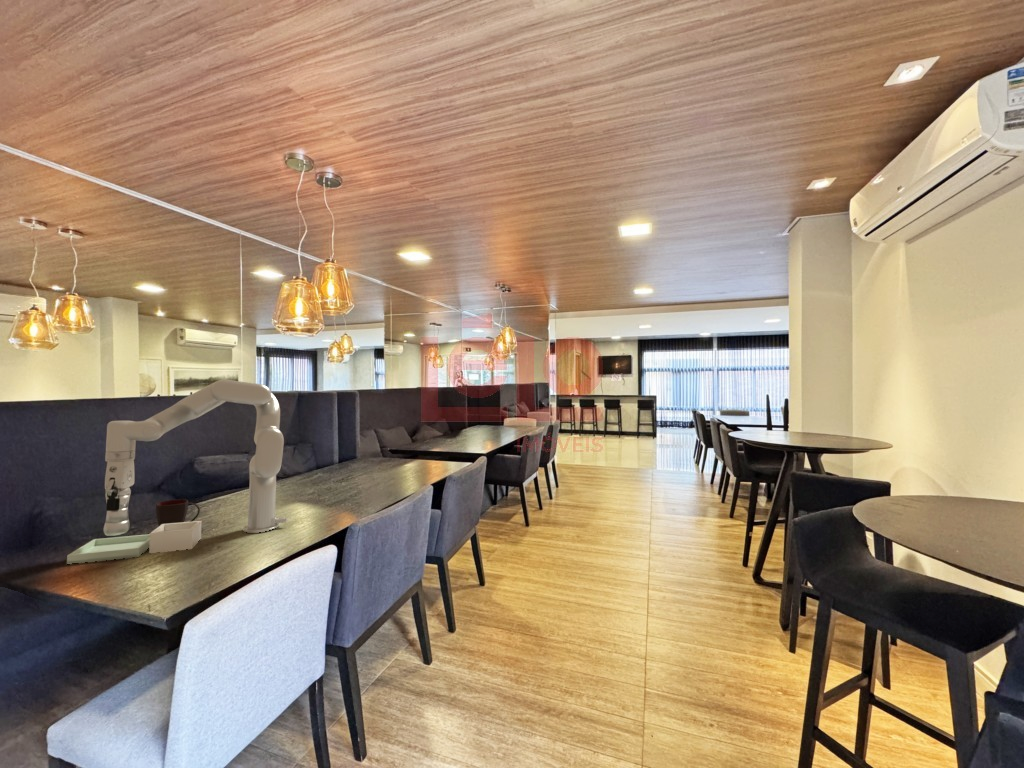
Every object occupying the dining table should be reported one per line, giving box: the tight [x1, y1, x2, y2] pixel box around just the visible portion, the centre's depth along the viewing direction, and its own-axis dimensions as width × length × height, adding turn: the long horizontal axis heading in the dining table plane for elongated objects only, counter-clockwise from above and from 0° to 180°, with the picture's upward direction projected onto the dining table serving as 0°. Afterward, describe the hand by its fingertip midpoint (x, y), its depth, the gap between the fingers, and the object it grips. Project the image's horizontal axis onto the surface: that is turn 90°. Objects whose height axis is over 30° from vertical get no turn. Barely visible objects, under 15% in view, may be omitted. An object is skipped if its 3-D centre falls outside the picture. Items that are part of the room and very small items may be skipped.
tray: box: [66, 533, 150, 565], centre depth 142 cm, size 18×16×3 cm
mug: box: [155, 498, 201, 527], centre depth 165 cm, size 10×14×12 cm
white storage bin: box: [148, 520, 202, 554], centre depth 149 cm, size 12×11×7 cm
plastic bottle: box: [103, 487, 132, 537], centre depth 143 cm, size 6×7×20 cm
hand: (117, 507), depth 143 cm, fingers closed on plastic bottle, 6 cm apart
